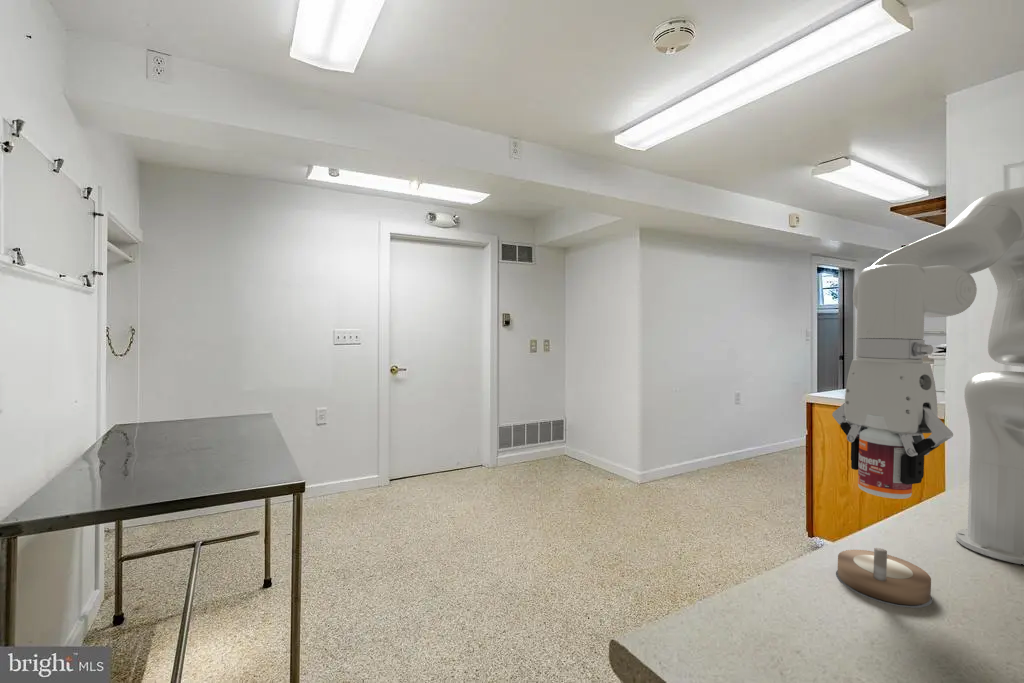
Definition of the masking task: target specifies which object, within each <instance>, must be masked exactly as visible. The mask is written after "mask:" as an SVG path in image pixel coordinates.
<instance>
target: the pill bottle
mask: <svg viewBox="0 0 1024 683" xmlns="http://www.w3.org/2000/svg"><path fill="white" fill-rule="evenodd" d="M865 425H866V426H869V428H867V429H864V430H862V431H861V433H860V437H859V461H858V462H859V463H858V470H857V485H858V488H859V489H860V490H861V491H863V492H865V493H867V494H869V495H872V496H876V497H882V498H887V499H894V500H895V499H903V500H904V499H909V498H910V497H911V496H912V494H913V484H909V485H906V484H903V483H902V482H901V481H900V478H901V456H902V455H905V454H906V451H905V448H904V446H903V443H902V440H901V438H900V435H899V434H898V433H893V432H888V431H886V430H884V429H888V427H887V425H886V422H885V419H884V417H882V416H876V415H870V414H868V415H867V417H866V422H865Z"/></svg>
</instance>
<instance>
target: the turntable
mask: <svg viewBox="0 0 1024 683" xmlns="http://www.w3.org/2000/svg"><path fill="white" fill-rule="evenodd" d="M837 570H838V576H839V578H840V579H841V580H842V581H843V582H844V583H846V584H847V585H849V586H850V587H852V588H854V589H855V590H857V591H859V592H862V593H864V594H866V595H869V596H871V597H874V598H877V599H881V600H884V601H888V602H892V603H898V604H905V605H921V604H925V603H927V602H929V601H930V598H931V596H932V593H931V592H932V577H931V576H930V575H929V573H928V572H926V570H924V569H922V568H921V567H919V566H917V565H916V564H914V563H912V562H909V561H908V560H905V559H902V558H900V557H897V556H894V555H891V554H888V551H887V550H886V549H885V548H881V547H874V549H873V550H867V549H846V550H843V551H840V552H839V553H838V554H837Z"/></svg>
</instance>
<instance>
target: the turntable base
mask: <svg viewBox="0 0 1024 683" xmlns="http://www.w3.org/2000/svg"><path fill="white" fill-rule="evenodd" d="M835 576H836V578H837V580H838V581H839V582H840V584H843V585H844V586H845V587H846V588H847V589H849V590H851V591H853V592H855V593H856V594H858V595H860V596H862V597H865V598H868V599H871V600H872V601H877V602H879V603H882V604H887V605H890V606H896V607H902V608H912V609H913V608H914V609H915V608H918V609H919V608H926V607H928V606H930V605H931V604H932V603H933V596H932V595H931V598H930V601H929V602H927V603H925V604H921V605H905V604H898V603H892V602H888V601H884V600H881V599H877V598H874V597H871V596H869V595H866V594H864V593H862V592H859V591H857V590H855V589H854V588H852V587H850V586H849V585H847V584H846V583H844V582H843V581H842V580H841V579H840V578H839V576H838V569H837V570H836V571H835Z"/></svg>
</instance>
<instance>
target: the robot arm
mask: <svg viewBox="0 0 1024 683" xmlns="http://www.w3.org/2000/svg"><path fill="white" fill-rule="evenodd" d="M986 269H988V270H989V271H990V274H991V276H992V278H993V280H994V283H995V285H996V289H997V295H996V300H995V307H994V311H993V316H992V320H991V325H990V330H989V333H988V334H989V335H988V340H987V352H988V355H989V357H990V358H991V359H992V360H994V362H997V363H998V364H1002V365H1006V366H1011V367H1021V368H1022V367H1023V368H1024V186H1019V187H1015V188H1010V189H1004V190H999V191H994V192H992V193H990V194H986V195H983V196H982V197H980V198H978V199H977V200H975V201H974V202H972V203H971V204H970V205H968V207H966V208H965V209H964V210H963V211H962V212H961V213H960V214H959V215H958V216H957V217H955V219H954V220H953V221H951V223H949V224H948V225H947V226H946V227H945V228H944V229H942V230H940V231H938V232H936V233H933V234H931V235H928V236H925V237H923V238H921V239H918V240H917V241H915V242H912V243H910V244H907V245H905V246H903V247H900V248H898V249H895V250H894V251H891V252H889V253H887V254H885V255H884V256H883V257H881V258H879V259H878V260H876V261H875V262H874V263H873V264H872V265H871V266H868V267H866V268H864V269H862V270H861V272H860V273H859V274H858V279H857V281H856V283H855V285H854V287H853V290H852V291H853V292H852V302H853V305H854V307H855V309H856V310H857V312H856V313H857V314H856V345H855V346H856V347H855V349H856V351H855V359H852V360H851V363H850V365H849V366H850V367H849V370H848V375H847V379H846V384H845V385H846V386H845V395H844V403H842V404H841V405H840V406H839V407H838V408H836V409H835V410H834V411H833V412H832V413H831V415H832V417H833V419H834V420H835V421H836V423H837V424H838V425H840V427H839V428H841V430H842V431H843V432H844V434H845V436H846V439H847V441H848V442H849V443H850V461H851V462H850V468H851V469H852V470H855V471H858V463H859V462H858V461H859V437H860V433H861V431H862V430H864V429H867V428H869V426H866V425H865V422H866V417H867V415H868V414H870V415H876V416H882V417H884V419H885V422H886V425H887V427H888V429H884V430H886V431H888V432H893V433H898V434H899V435H900V438H901V440H902V443H903V446H904V448H905V451H906V454H905V455H902V456H901V478H900V481H901V482H902V483H903V484H906V485H909V484H912V485H915V484H921V483H922V480H923V479H924V475H925V456H928V455H929V454H930V452H933V451H934V450H935V449H936V448H939V447H940V445H943V444H944V443H946V442H947V441H948V440H950V439H952V438H953V437H954V433H953V431H952V430H951V429H950V428H949V427H948V426H947V425H946V424H945V423H944V422H943V421H942V420H941V418H939V416H938V415H939V414H938V413H939V412H938V399H937V398H938V397H937V389H936V383H935V382H936V381H935V377H934V373H933V368H932V365H931V363H930V362H924V359H925V355H932V354H933V352H934V347H933V345H931V344H926V343H925V341H926V340H925V339H924V337H925V334H924V333H925V318H927V319H928V318H947V317H953V316H956V315H960V314H961V313H964V312H965V311H966V310H968V309H969V308H970V307H971V306H972V304H973V303H974V301H975V299H976V296H977V291H978V288H977V287H978V286H977V283H976V280H975V279H974V277H973V276H972V274H975V273H978V272H981V271H984V270H986ZM964 402H965V406H966V412H967V417H968V424H969V440H970V442H969V443H970V444H969V448H970V449H969V468H968V470H969V472H968V473H969V474H968V499H967V501H968V504H967V505H968V506H967V528H963V529H958V530H957V531H956V532H955V540H956V541H957V542H958V543H959V544H961V545H962V547H965V548H967V549H969V550H970V551H972V552H973V551H974V552H975V553H979V554H981V555H983V556H986V557H989V558H992V559H995V560H996V559H997V560H999V561H1004V562H1008V563H1013V564H1016V565H1021V564H1023V565H1022V566H1024V371H1012V370H1011V371H1010V370H993V371H992V370H991V371H985V372H980V373H978V374H975V375H973V376H972V377H970V378H969V380H968V381H967V382H966V385H965V387H964ZM924 434H930V435H928V436H927V437H926V438H925V436H924Z"/></svg>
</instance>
